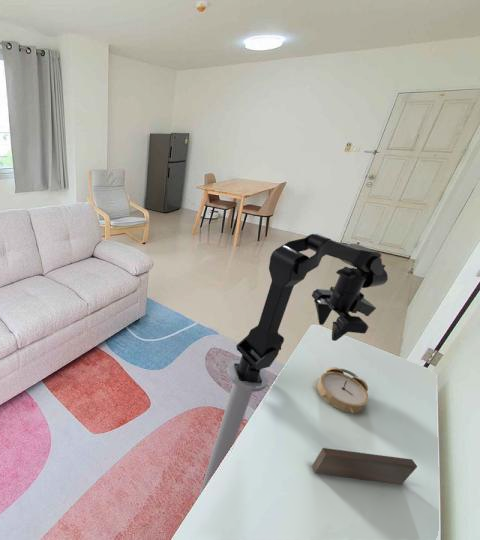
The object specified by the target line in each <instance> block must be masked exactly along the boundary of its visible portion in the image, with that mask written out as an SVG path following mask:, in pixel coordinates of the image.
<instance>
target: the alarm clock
mask: <svg viewBox="0 0 480 540" xmlns="http://www.w3.org/2000/svg"><path fill="white" fill-rule="evenodd" d="M347 374H348V375H347ZM351 376H352V377H351ZM316 388H317V392H318V394H319V395H320V397H321V398H322V399H323V401H325V403H327V404H329V405H330V406H332V407H333V408H334V409H337V410H339V411H342V412H345V413H350V414H351V413H352V414H356V413H360V412H361V411H362V410H363V409H364V408H365V406H366V404H367V403H368V402H369V401H370V400H369V399H370V398H369V394H368V390H369V386H368V384H367V382H366V381H365V380H364V379H362V378H361V377H359V376H358V375H357V374H356V373H354V372H352V371H351V370H348V369H345V368H339V367H335V366H332V367H328V368H327V369H326V370H325V372H324V373H323V374H321V376H320V378H319V381H318V382H317V386H316Z"/></svg>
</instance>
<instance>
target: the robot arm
mask: <svg viewBox="0 0 480 540" xmlns="http://www.w3.org/2000/svg"><path fill="white" fill-rule="evenodd" d="M308 250H310V251H313V252H315V254H313V255H311V256H310V257H309V256H308V255H306V254H304V253H302V252H304V251H308ZM325 256H329V257H333V258H335V259H339V260H340V261H342V262H343V263H345V264H346V265H349V266H351V267H348V266H344V267H343V268H340V269H338V270H337V271H336V274H337V275H339V276H338V279H337V281H336V284H335V286H330V288H329V289H324V288H323V289H322V288H317V289H315V290H313V291H312V294H311V297H312V298H313V299H314V300H313V302H314V304H315V309H316V314H317V320H318V324H319V325H321V326H324V324H325V322H327V320H328V318H329V316H330V315H331V312H332V311H333V312H334V313H336V314H337V315H338V317H336V321H332V328H331V341H334V342H336V341H338V340H340V339H341V338H342V337H344V336H345V335H346V334H348V333H354V334H355V333H356V334H366V333H367V331H368V330H369V325H368V323H366V322H365V321H364V320H363V319H362V318H361V317H360V316H356V315H351V314H357V312H358V313H359V314H362V315H364V316H365V317H369V316H370V315H371V314H372V313H373V312H375V310H376V309H377V307H376V306H375V305H374V304H372V302H370V301H369V300H368V299H366V298H365V295H364V294H363V293H362V292H361V291H362V289H368V288H372V287H379V286H383V285H385V284H386V283H387V282H388V279H389V278H388V277H389V276H388V272H387V271H386V270H385V268H386V265H385V264H383V262H382V253H380V252H379V251H376V250H373V249H372V248H368V247H366V246H363V245H360V244H358V243H348V244H345V243H342V242H339V241H336V240H333V239H331V238H329V237H327V236H324V235H321V234H319V233H310V234H309V235H307V236H306V237H302V238H298V239H294V240H290V241H287V242H286V243H284V244H282V245H280V246H279V247H277V248H276V249H274V251H272V253H271V255H270V257H269V265H268V271H269V275H270V278H271V283H270V286H269V289H268V292H267V294H266V299H265V301H264V304H263V308H262V312H261V314H260V318H259V320H258V324H257V325H256V326H255V327H253V328H251V329H250V330H249V332H248V334H247V335H246V336H245V337H244V338H243V339H241V340H240V341H239V342H238V343H237V344H236V345H235V346H236V351H238V352H239V353H240V355H241V357H240V359H239V360H240V363H239V364H238V363H235V364H234V366H235V369H236V372H237V376H238V379H239V380H240V381H247V382H256V383H262V379H261V377H260V374H259V373H260V370H261V369H263V370H264V369H267V368H270V367H271V365H272V364H273V363H274V361H275V360H276V359H277V357H278V356H279V352H280V351H281V350H282V345H283V344H284V342H285V338H284V336H283V335H282V334H280V333H279V329H280V326H281V323H282V321H283V318H284V315H285V312H286V309H287V307H288V304H289V301H290V298H291V294H292V292H293V289H294V287H295V285H298V284H299V283H300V282H302V281H304V280H305V278H306V276H307V275H308V273H310V272H311V271H313V270H315V269H316V268H318V267H319V265H320V263H321V261H322V260H323V259H322V258H323V257H325ZM350 313H351V314H350Z"/></svg>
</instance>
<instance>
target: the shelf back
mask: <svg viewBox="0 0 480 540" xmlns="http://www.w3.org/2000/svg"><path fill="white" fill-rule="evenodd" d="M311 468H312V470H313V472H314V474H318V475H326V476H331V477H332V476H334V477H341V478H347V479H348V478H349V479H354V480H355V479H356V480H363V481H369V482H379V483H385V484H393V485H400V486H401V485H403V484H404V483H405V482H406V481H407V480H408V478H409V477H410V476H411V475H412V473H414V471H415V470H416V469H417V468H418V465H417V464H416V463H415V461H414V460H413V459H412V458H407V457H406V458H405V457H397V456H389V455H383V454H382V455H381V454H374V453H365V452H357V451H350V450H342V449H333V448H328V447H327V448H326V447H322V448H321V450H320V451H319V453H318V454H317V457H316V459H315V460H314V462H313V463H312V465H311Z"/></svg>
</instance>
